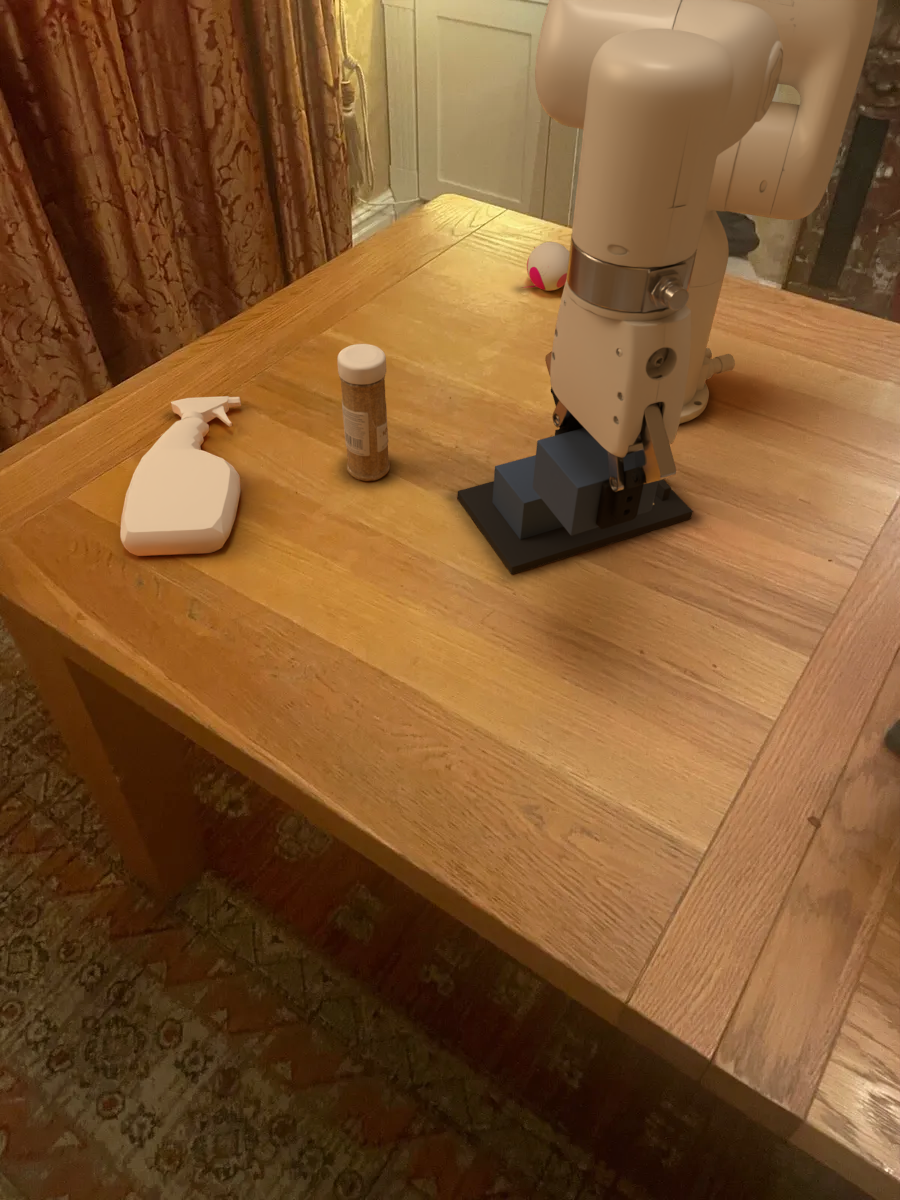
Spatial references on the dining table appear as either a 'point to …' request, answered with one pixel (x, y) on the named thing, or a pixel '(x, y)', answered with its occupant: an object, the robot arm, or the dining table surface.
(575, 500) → the back pad
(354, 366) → the sprinkles bottle
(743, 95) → the robot arm
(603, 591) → the dining table surface
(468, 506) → the pad base
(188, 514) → the spray bottle
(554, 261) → the stress ball
